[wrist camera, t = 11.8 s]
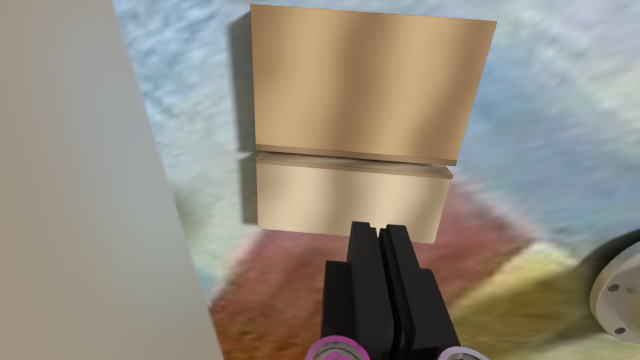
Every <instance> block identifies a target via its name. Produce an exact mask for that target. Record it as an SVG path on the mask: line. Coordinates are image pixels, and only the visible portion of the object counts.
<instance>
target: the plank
mask: <svg viewBox="0 0 640 360" xmlns="http://www.w3.org/2000/svg"><path fill="white" fill-rule="evenodd" d="M250 7H251V33H252V59H253V85H254V111H255V136H256V145H255V146H256V150H263V151H275V152H287V153H300V154H312V155H324V156H337V157H349V158H361V159H374V160H386V161H398V162H411V163H423V164H435V165H448V166H456V162H457V157H458V153H459V150H460V146H461V143H462V140H463V136H464V133H465V129H466V126H467V123H468V119H469V116H470V113H471V109H472V106H473V102H474V99H475V96H476V92H477V89H478V85H479V82H480V79H481V75H482V72H483V68H484V65H485V62H486V58H487V55H488V52H489V48H490V45H491V41H492V38H493V35H494V31H495V28H496V24H497V21H484V20H470V19H456V18H441V17H427V16H413V15H398V14H384V13H369V12H355V11H341V10H326V9H312V8H298V7H283V6H269V5H255V4H250Z"/></svg>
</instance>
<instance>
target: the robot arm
mask: <svg viewBox="0 0 640 360" xmlns="http://www.w3.org/2000/svg"><path fill="white" fill-rule="evenodd" d="M589 303H590V308H591V312H592V314H593V316H594V317H595V319H596V320H597V321H598V322H599V324H600V325H601V326H602V327H603V328H604V329H605V330H606V331H607V332H608V333H609V334H611V335H612V336H614V337H616V338H619V339H621V340H623V341H627V342H631V343H635V344H640V241H639V242H637V243H635V244H634V245H632V246H630V247H629V248H627V249H625V250H624V251H623V252H621V253H620V254H619V255H618V256H616V257H615V258H614V259H613V260H611V261H610V262H609V264H608V265H607V266H606V267H605V268H604V269H603V270H602V271H601V273H600V274H599V276H598V277H597V279H596V280H595V282H594V285H593V287H592V290H591V293H590V302H589ZM305 360H489V359H488V358H487V357H486V356H484V355H482V354H481V353H479V352H477V351H475V350H472V349H469V348H466V347H461V345H460V342H459V340H458V337H457V335H456V332H455V329H454V327H453V324H452V322H451V319H450V316H449V314H448V311H447V309H446V306H445V303H444V301H443V298H442V296H441V293H440V290H439V288H438V285H437V283H436V280H435V277H434V275H433V273H432V271H431V270H430V269H422V268H420V267H419V264H418V261H417V258H416V255H415V252H414V249H413V246H412V243H411V240H410V237H409V234H408V231H407V228H406V226H405V225H395V224H387V225H386V228H380V231H379V236H377V230H376V228H375V227H370V223H369V222H359V221H352V224H351V231H350V239H349V246H348V254H347V262H341V261H329V260H326V266H325V276H324V288H323V302H322V319H321V336H320V340H319V341H317V342H316V343H315V344H314V345H313V346H312V347H311V348H310V349H309V352H308V354H307V356H306V359H305Z"/></svg>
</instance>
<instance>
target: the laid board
mask: <svg viewBox="0 0 640 360" xmlns="http://www.w3.org/2000/svg"><path fill="white" fill-rule="evenodd" d="M256 173H257V210H258V228H261V229H272V230H284V231H295V232H307V233H318V234H330V235H341V236H350V231H351V224H352V221H359V222H369V223H370V227H375V228H376V230H377V236H379V231H380V228H386V225H387V224H395V225H405V226H406V228H407V231H408V234H409V237H410V240H411V242H422V243H433V244H434V241H435V237H436V233H437V230H438V226H439V223H440V219H441V215H442V212H443V208H444V204H445V201H446V197H447V193H448V190H449V186H450V182H451V179H452V177H453V175H452V173H451V172H450V171H449V170H448V168H447V167H446V166H445V165H435V164H423V163H411V162H398V161H386V160H374V159H361V158H349V157H337V156H324V155H312V154H300V153H287V152H275V151H263V150H261V152H260V154H259V155H258V157H257V158H256Z"/></svg>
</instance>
